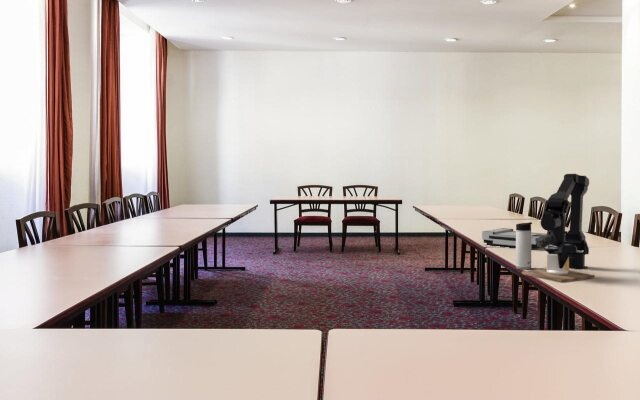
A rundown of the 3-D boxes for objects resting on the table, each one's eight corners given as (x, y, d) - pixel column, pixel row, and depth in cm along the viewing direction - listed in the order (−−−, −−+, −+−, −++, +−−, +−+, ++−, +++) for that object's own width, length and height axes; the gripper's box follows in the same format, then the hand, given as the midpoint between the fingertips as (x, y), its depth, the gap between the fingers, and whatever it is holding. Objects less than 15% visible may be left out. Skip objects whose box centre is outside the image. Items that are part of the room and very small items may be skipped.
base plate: (554, 269, 239) (554, 267, 239) (594, 277, 221) (594, 274, 221) (521, 274, 231) (521, 271, 231) (561, 282, 213) (561, 279, 213)
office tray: (535, 251, 292) (535, 235, 291) (482, 245, 316) (482, 231, 316) (555, 247, 305) (555, 232, 305) (502, 242, 330) (502, 228, 329)
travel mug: (533, 269, 240) (533, 223, 239) (517, 269, 241) (516, 223, 240) (530, 267, 246) (530, 221, 245) (515, 267, 248) (514, 221, 246)
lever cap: (546, 270, 231) (546, 252, 231) (567, 271, 228) (567, 253, 228) (547, 274, 224) (547, 255, 223) (569, 275, 221) (569, 256, 220)
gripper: (527, 226, 233) (526, 264, 234) (550, 231, 215) (550, 272, 216) (552, 226, 235) (552, 263, 235) (577, 230, 216) (577, 271, 217)
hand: (557, 267), depth 226 cm, fingers closed on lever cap, 5 cm apart
